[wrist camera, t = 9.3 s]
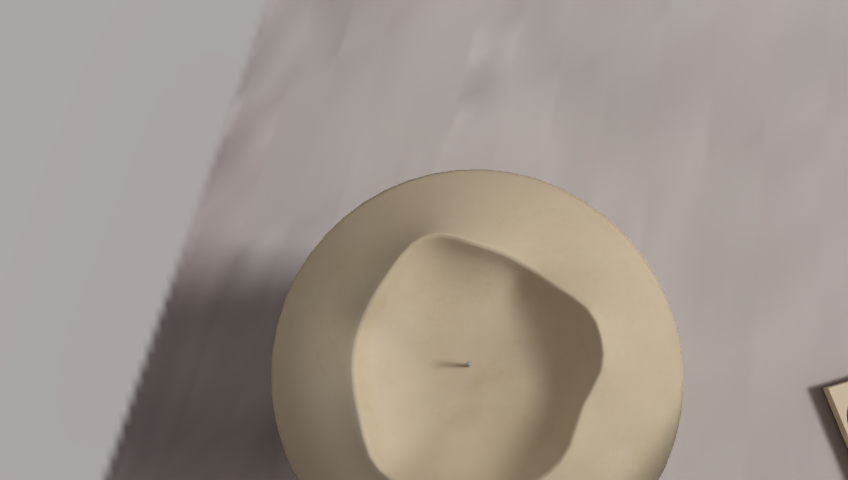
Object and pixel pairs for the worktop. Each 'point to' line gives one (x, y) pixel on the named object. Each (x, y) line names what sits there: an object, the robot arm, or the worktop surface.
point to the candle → (476, 341)
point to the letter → (839, 405)
